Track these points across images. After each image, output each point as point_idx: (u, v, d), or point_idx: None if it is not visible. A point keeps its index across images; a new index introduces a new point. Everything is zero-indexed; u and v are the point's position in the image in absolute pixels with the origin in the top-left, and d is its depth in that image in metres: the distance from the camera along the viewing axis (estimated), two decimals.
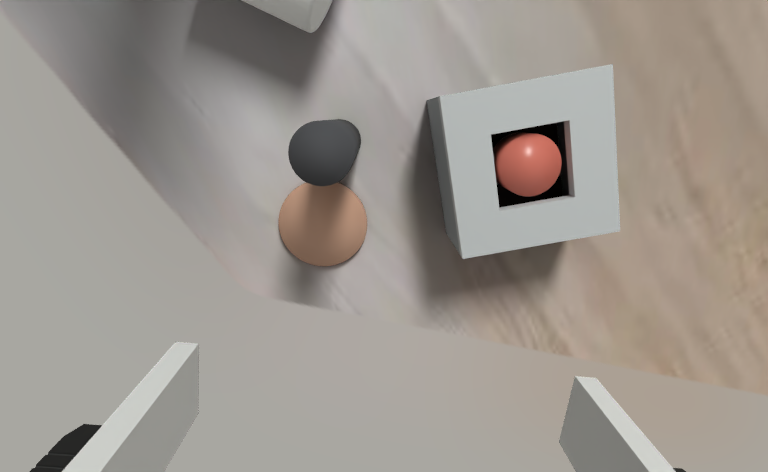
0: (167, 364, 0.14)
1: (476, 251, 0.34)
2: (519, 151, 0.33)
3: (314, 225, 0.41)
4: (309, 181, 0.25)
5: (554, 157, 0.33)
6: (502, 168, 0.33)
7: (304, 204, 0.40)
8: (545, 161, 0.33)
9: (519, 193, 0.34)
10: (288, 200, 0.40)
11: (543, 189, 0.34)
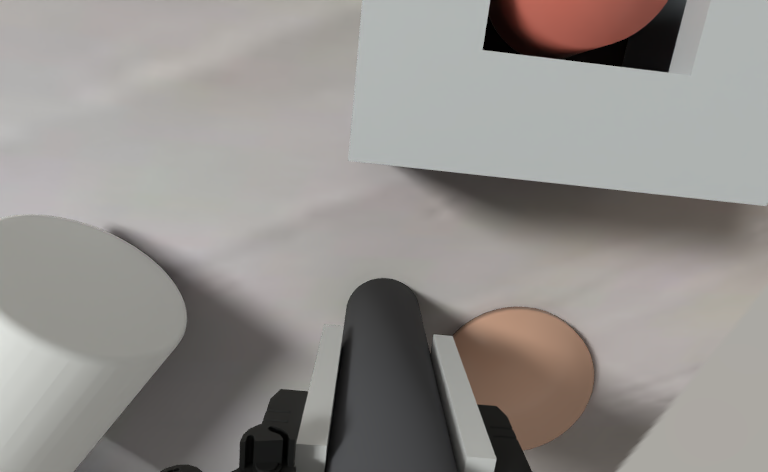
0: (329, 342, 0.16)
1: (764, 165, 0.13)
2: None
3: (511, 398, 0.23)
4: None
5: None
6: (574, 36, 0.12)
7: None
8: None
9: (660, 5, 0.12)
10: None
11: None
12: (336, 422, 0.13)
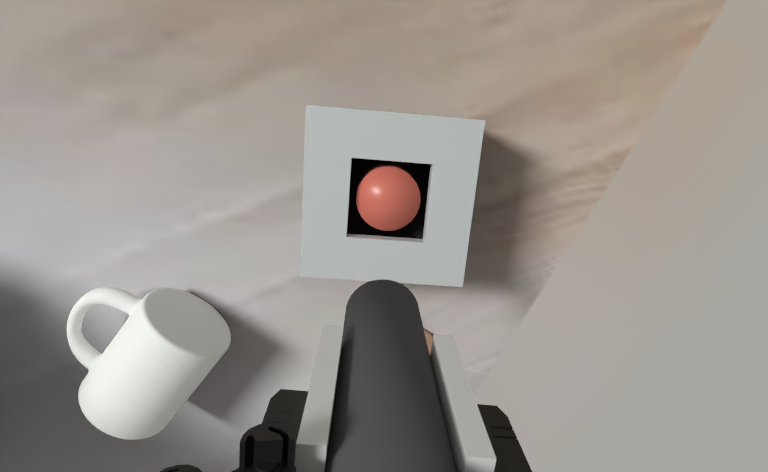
0: (329, 342, 0.16)
1: (458, 272, 0.33)
2: (371, 208, 0.32)
3: None
4: None
5: (386, 174, 0.32)
6: (383, 227, 0.33)
7: None
8: (388, 184, 0.32)
9: (414, 215, 0.32)
10: None
11: (416, 190, 0.32)
12: (335, 424, 0.13)
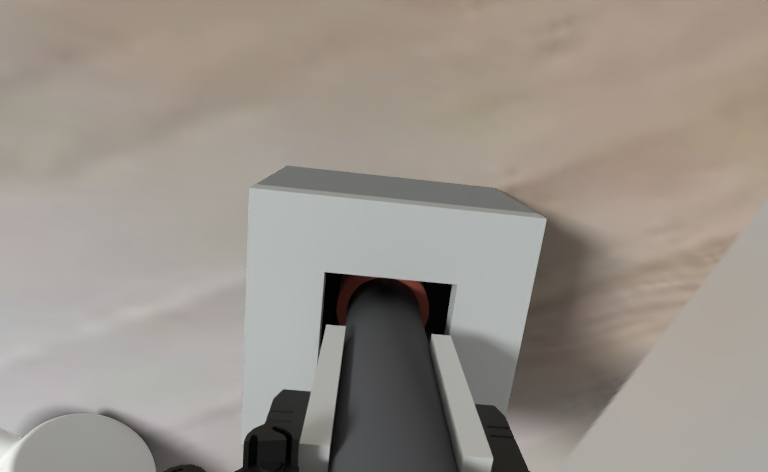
0: (331, 342, 0.16)
1: None
2: None
3: None
4: None
5: None
6: None
7: None
8: None
9: None
10: None
11: (423, 299, 0.22)
12: (337, 419, 0.13)
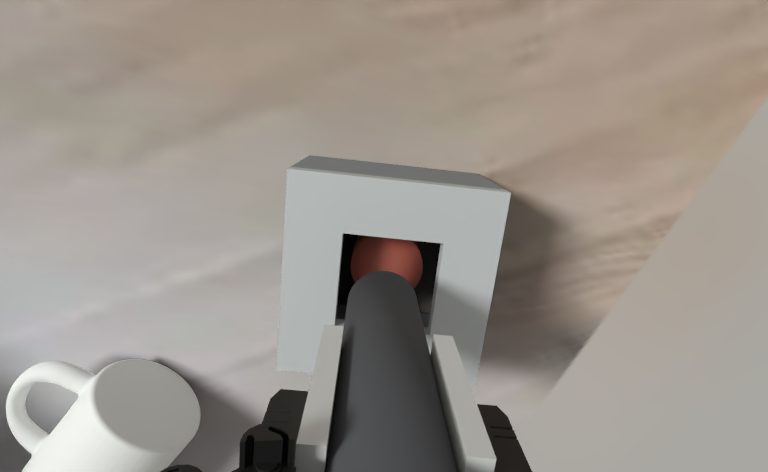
0: (329, 342, 0.16)
1: (471, 371, 0.27)
2: None
3: None
4: None
5: (385, 239, 0.28)
6: None
7: None
8: (387, 250, 0.28)
9: (415, 285, 0.29)
10: None
11: (418, 258, 0.28)
12: (339, 398, 0.14)
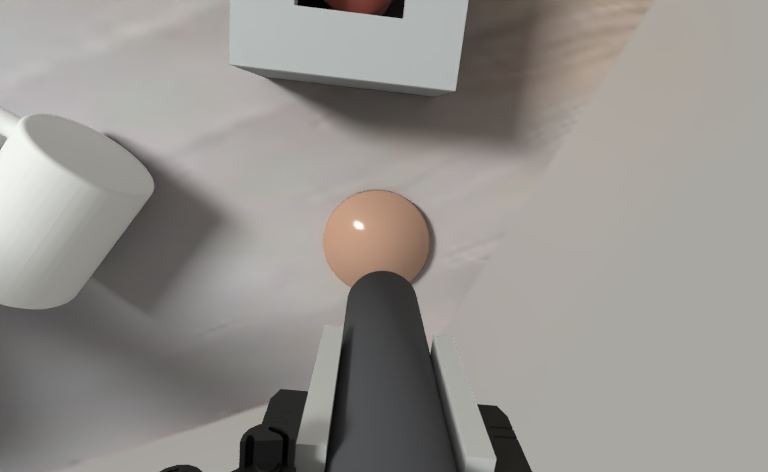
0: (329, 342, 0.16)
1: (450, 67, 0.24)
2: None
3: (375, 253, 0.34)
4: None
5: None
6: (349, 10, 0.26)
7: (347, 256, 0.34)
8: None
9: None
10: (338, 272, 0.34)
11: None
12: (339, 398, 0.14)
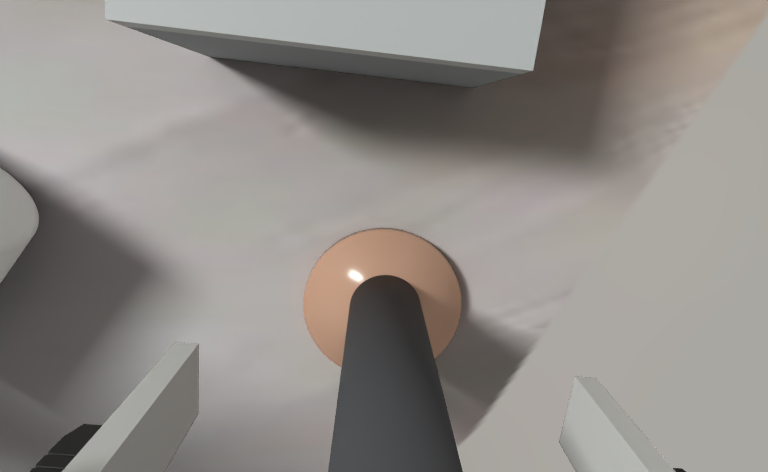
0: (167, 364, 0.14)
1: (525, 26, 0.13)
2: None
3: None
4: None
5: None
6: None
7: (339, 326, 0.23)
8: None
9: None
10: (325, 348, 0.23)
11: None
12: (342, 410, 0.13)
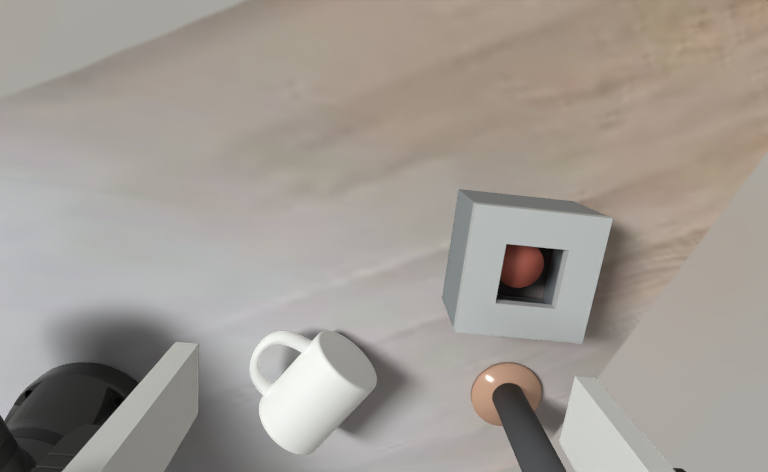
0: (167, 364, 0.14)
1: (580, 332, 0.42)
2: (506, 271, 0.43)
3: None
4: None
5: (520, 247, 0.43)
6: (514, 285, 0.44)
7: (487, 404, 0.52)
8: (521, 254, 0.43)
9: (537, 277, 0.44)
10: (480, 413, 0.52)
11: (541, 259, 0.43)
12: (521, 448, 0.42)
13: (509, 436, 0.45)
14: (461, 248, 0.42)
